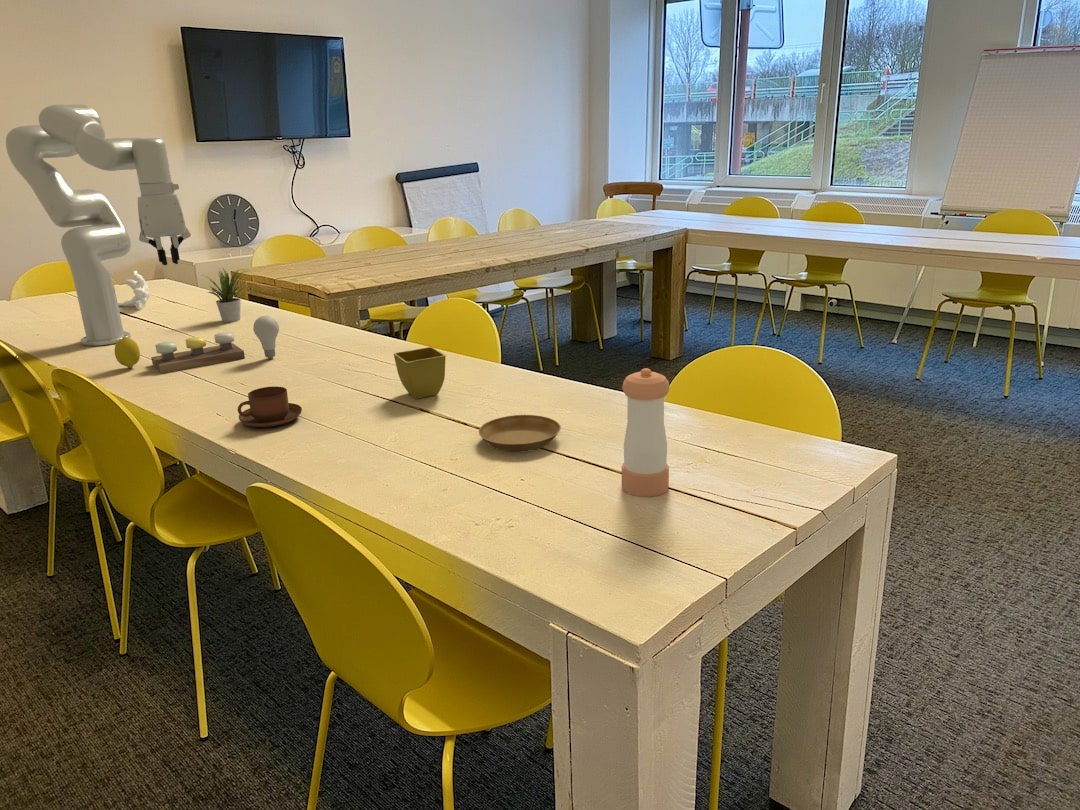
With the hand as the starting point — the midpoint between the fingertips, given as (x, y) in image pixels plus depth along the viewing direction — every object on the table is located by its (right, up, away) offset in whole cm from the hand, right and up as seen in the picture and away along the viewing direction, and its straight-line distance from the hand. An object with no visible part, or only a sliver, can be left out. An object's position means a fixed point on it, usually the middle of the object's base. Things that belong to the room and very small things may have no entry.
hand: (170, 263), depth 211 cm
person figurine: (-40, -3, +66) cm, 77 cm away
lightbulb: (+27, -25, -3) cm, 37 cm away
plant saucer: (+91, -43, -62) cm, 119 cm away
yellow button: (+9, -24, -4) cm, 26 cm away
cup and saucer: (+42, -40, -48) cm, 75 cm away
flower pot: (+70, -34, -35) cm, 85 cm away
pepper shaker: (+111, -49, -83) cm, 147 cm away
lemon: (-7, -27, -7) cm, 29 cm away
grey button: (+15, -22, 0) cm, 27 cm away
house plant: (+2, -11, +41) cm, 42 cm away
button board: (+9, -25, -3) cm, 27 cm away
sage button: (+3, -25, -8) cm, 27 cm away
